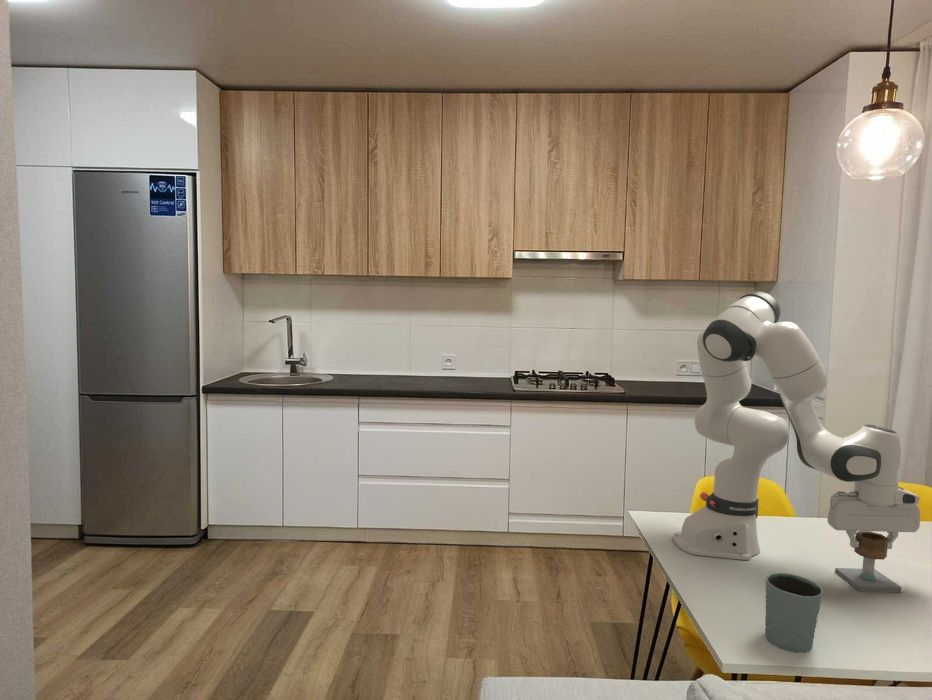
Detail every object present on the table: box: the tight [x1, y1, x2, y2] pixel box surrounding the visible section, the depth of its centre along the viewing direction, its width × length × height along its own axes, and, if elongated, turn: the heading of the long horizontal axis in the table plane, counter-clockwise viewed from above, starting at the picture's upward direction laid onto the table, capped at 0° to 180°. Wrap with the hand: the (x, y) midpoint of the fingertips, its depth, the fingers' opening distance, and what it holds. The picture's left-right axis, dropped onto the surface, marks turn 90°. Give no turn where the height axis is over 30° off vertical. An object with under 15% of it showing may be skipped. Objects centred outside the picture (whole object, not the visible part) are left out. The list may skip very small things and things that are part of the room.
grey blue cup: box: [764, 572, 824, 654], centre depth 127 cm, size 10×10×12 cm
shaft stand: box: [834, 556, 903, 593], centre depth 155 cm, size 10×10×7 cm
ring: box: [853, 531, 888, 560], centre depth 154 cm, size 6×6×4 cm
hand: (870, 547), depth 154 cm, fingers closed on ring, 6 cm apart
